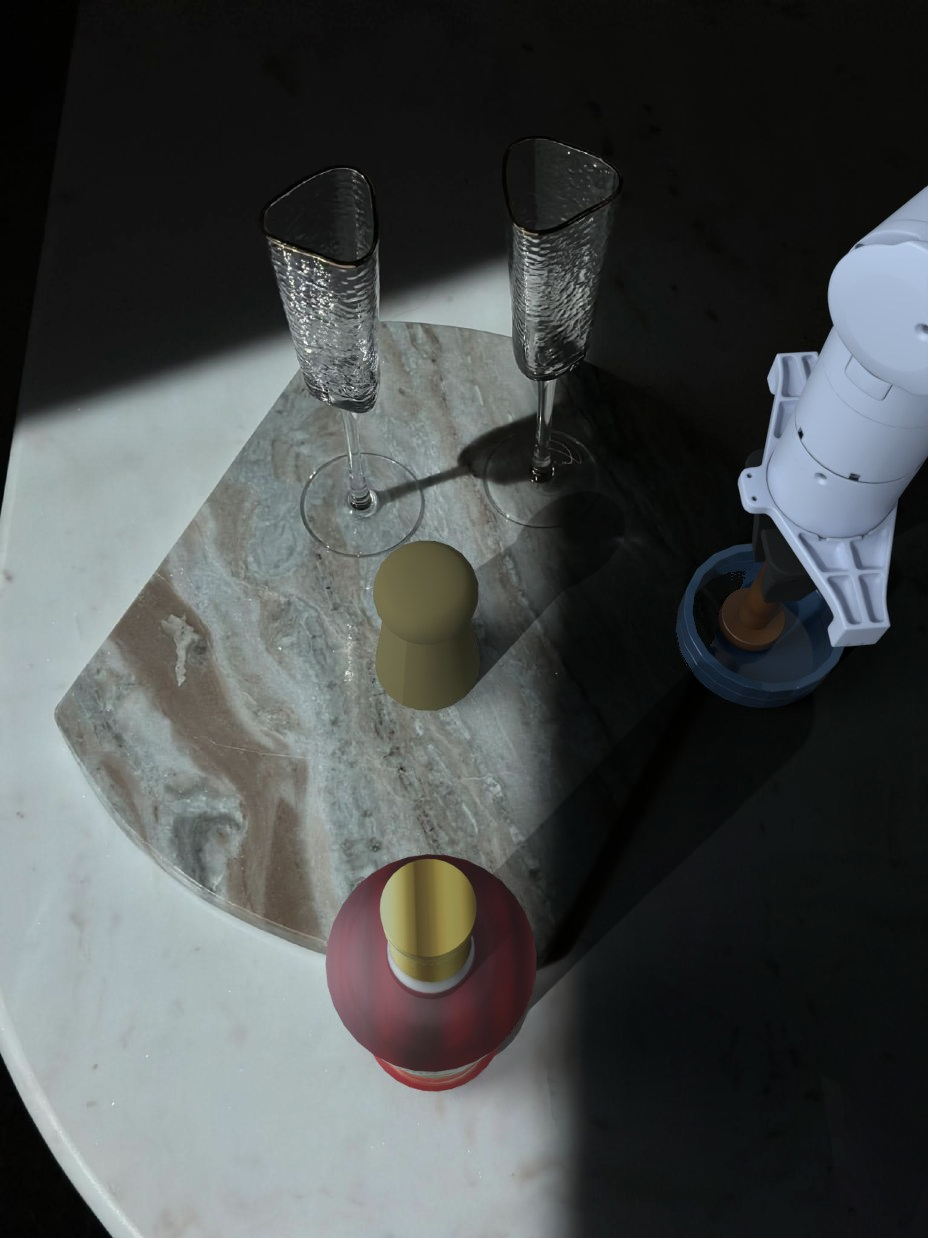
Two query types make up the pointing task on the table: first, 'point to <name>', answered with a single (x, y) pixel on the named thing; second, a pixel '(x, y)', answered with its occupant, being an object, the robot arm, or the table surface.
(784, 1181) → the table surface
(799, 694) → the bowl
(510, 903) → the liquor
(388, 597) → the cork
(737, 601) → the pestle
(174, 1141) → the table surface
